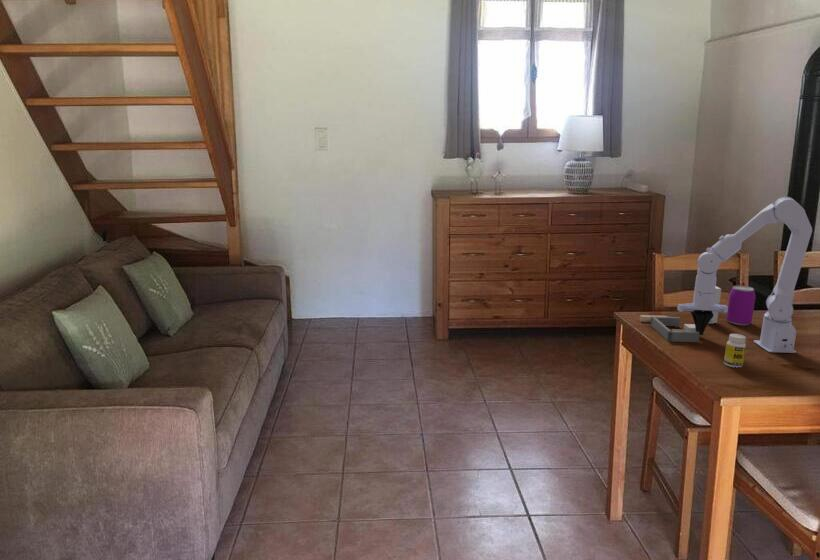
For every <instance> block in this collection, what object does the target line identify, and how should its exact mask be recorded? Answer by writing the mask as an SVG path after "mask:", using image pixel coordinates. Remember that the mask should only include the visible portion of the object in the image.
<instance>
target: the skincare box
mask: <svg viewBox="0 0 820 560" xmlns="http://www.w3.org/2000/svg"><path fill="white" fill-rule="evenodd" d="M721 296H722V288H720V287H719V286H717V285H716V288H715V296H714V303H713V304H718V305H721V304H720V302H721ZM712 313H713V314H714V315H713V318H712V319H711V320H710V321H709V323H708V324H714V323H716V324H717V323H718V318H719V312H712Z"/></svg>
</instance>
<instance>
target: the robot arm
mask: <svg viewBox="0 0 820 560" xmlns="http://www.w3.org/2000/svg"><path fill="white" fill-rule="evenodd" d="M777 220H778V221H780V222H782V223H783V224H785V225H786V226H787V228H788V229H789V230H790V232H791V233H790V236H789V240H788V244H787V247H786V250H785V253H784V256H783V261H782V264H781V267H780V270H779V273H778V276H777V277H778V278H777V280H776V284H775V285H774V287H773V289H772V292H771V294H770V295H768V297H767V298H766V300H765V306H766V308H767V311H766V312H765V313H764V314H763V318H762V319H763V320H762V325H761V331H760V338H759V340H758V339H757V340H756V339H755V340H753V343H754V344H756V345H757V346H760V347H761V348H762V349H764V350H765V351H766V352H767V353H786V354H787V353H788V354H789V353H790V354H796V353H797V351H796V349H794V348H795V344H796V343H795V342H796V336H797V330H796V327H795V326H794V325H793V324H792V316H793V314H794V306H793V300H794V295H795V289H796V288H795V287H796V285H797V281H798V278H799V275H800V272H801V269H802V265H803V263H804V259H805V255H806V253H807V249H808V246H809V242H810V239H811V236H812V233H813V227H812V225H811V223H810V220H809V217H808V215H807V214H806V210H805V209H804V208H803V206H801V204H800V203H799V202H797V201H796V200H795V199H794V198H792V197H790V196H782V197H779V198H778V199H776V200H775V201H774V203H770V204H768V205H767V206H766V207H765V208H764V207H763V209H761V210H760V211H759V212H758V213H757V214H756V215H754V216H753V217H752V218H751V219H750V220H749V221H748V222H746V224H744V225H743V226H742V227H740V229H738V230H737V231H736V232H735V233H734V234H733V233H732V234H731V233H730V234H729V233H728V234H725V235H721V236H720V237H718V239H719V240H718V241H717V242H715V243H714V244H713V245H712V246H711V247H707V248H706V249H705V250H706V251H704V252H702V253H701V254H700V255H698V259H697V267H698V269H697V270H696V273H697V274H696V276H695V281H694V282H695V283H694V291H693V300H692V302H689V303H678V304H677V308H676V309H677V311H678V312H680V313H681V312H690V314H691V316H692V319H693V322H694V323H693V324H695V328H696V332H699V336H703V335H704V333H705V330H706V328H707V326H708V324H710V323H709V321H710V320H711V319H712V318H713V315H714V314H713V313H712V312H718V313H726V314H727V311H728V305H726V304H719V305H718V304H713V303H714V296H715V288H716V286H717V279H718V278H717V271H718V270H719V268H720V264H721V263H725V262H727V260H728V259H730V258H731V257H732V256H734V255H735V254H736V253H737V252H739V251H740V250H741V249H742V243H743V242H744V241H746V240H747V239H748V238H750V237H752V236H753V235H754V234H755V233H756V232H757V231H759V230H760V229H762V228H763V227H764V226H766V225H773V224H778V221H777Z"/></svg>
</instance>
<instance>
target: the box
mask: <svg viewBox="0 0 820 560" xmlns="http://www.w3.org/2000/svg"><path fill="white" fill-rule="evenodd" d="M681 319H682V318H681V317H680V316H668V317H651V322H650V326H651V327H652V329H654V330H655V331H656V332H657V333H658V334H660V335H661V336H662V337H663V338H664V339H665V340H666V342H671V343H673V342H674V343H675V342H677V343H699V339H700V335H699V332H688V331H671V330H670V329H671V328H670V327H666V326H675V327H674V328H680V326H681Z"/></svg>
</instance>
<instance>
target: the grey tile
mask: <svg viewBox="0 0 820 560" xmlns="http://www.w3.org/2000/svg"><path fill="white" fill-rule="evenodd" d="M682 329H683V330H685V331H688V332H696V328H695V323H693V324H691V323H683V328H682Z"/></svg>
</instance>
